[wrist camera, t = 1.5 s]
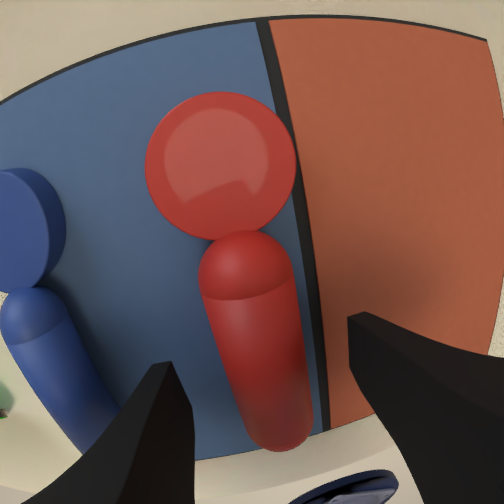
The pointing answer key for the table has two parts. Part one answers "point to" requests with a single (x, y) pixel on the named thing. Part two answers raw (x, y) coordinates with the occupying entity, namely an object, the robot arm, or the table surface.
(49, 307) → the blue spoon
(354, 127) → the sorting mat
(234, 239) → the red spoon
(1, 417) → the toy office chair
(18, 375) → the table surface
